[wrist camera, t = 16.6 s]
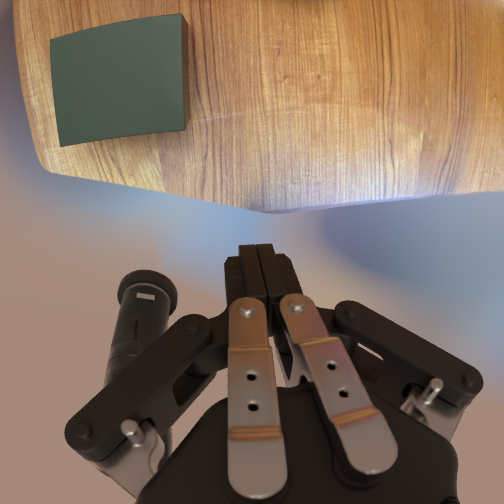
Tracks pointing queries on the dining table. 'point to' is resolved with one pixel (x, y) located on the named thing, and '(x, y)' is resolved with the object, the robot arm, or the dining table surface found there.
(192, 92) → the dining table surface
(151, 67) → the lid
